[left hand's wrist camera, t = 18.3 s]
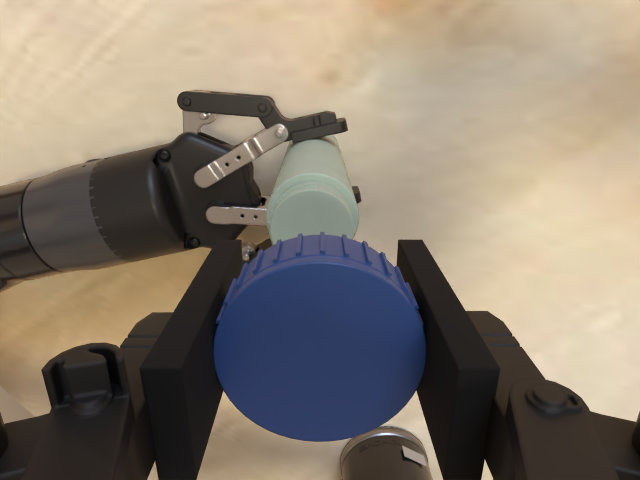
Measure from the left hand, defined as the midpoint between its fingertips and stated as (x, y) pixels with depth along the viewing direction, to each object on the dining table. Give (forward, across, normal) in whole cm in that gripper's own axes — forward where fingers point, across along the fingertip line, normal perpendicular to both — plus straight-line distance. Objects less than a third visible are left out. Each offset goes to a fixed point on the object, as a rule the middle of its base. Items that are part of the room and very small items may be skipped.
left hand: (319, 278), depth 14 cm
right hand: (+17, -2, -1) cm, 18 cm away
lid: (-4, 0, 0) cm, 4 cm away
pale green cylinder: (+24, 0, 0) cm, 24 cm away
